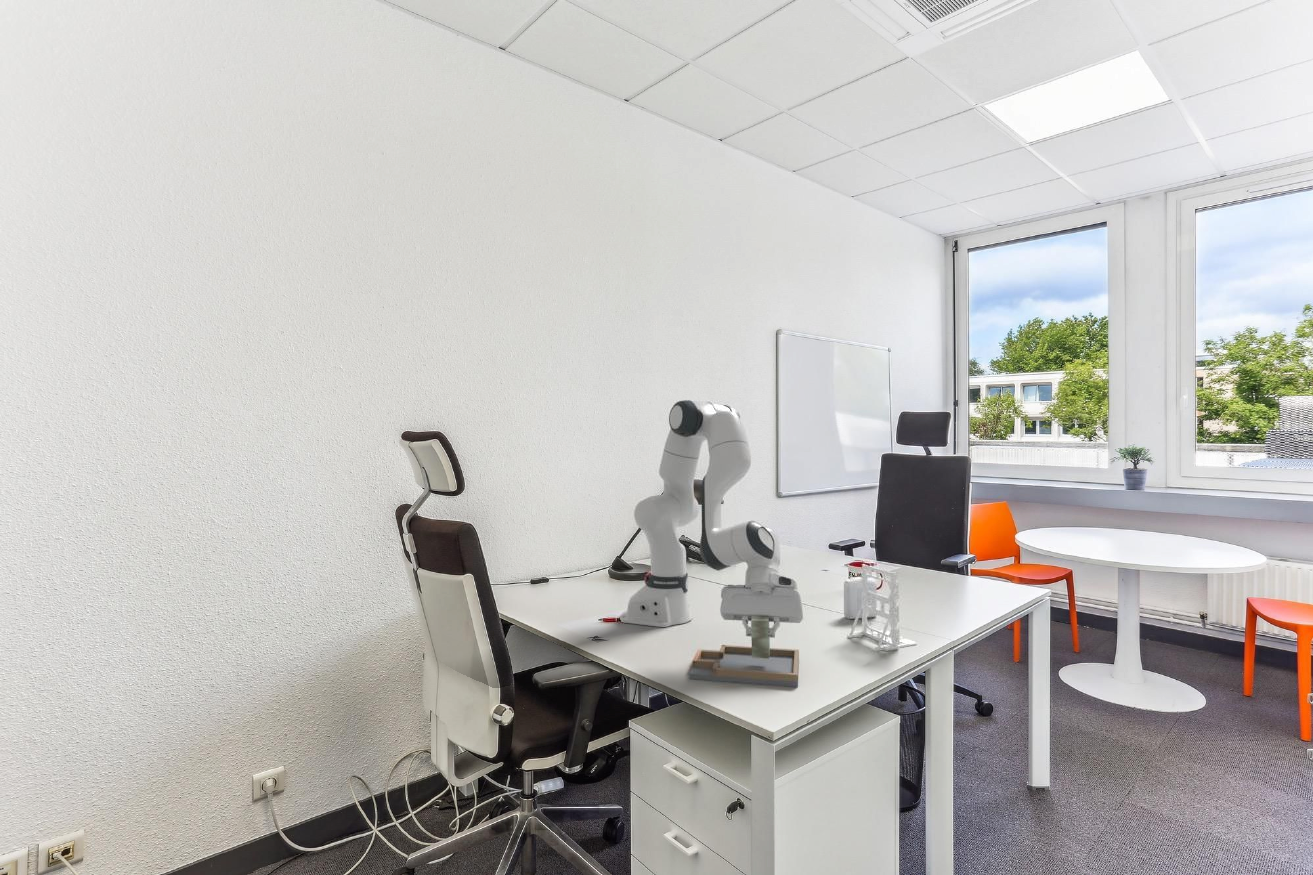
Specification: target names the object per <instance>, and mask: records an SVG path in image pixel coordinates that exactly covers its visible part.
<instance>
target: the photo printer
mask: <svg viewBox="0 0 1313 875" xmlns="http://www.w3.org/2000/svg"><path fill="white" fill-rule="evenodd" d="M866 584H867V587H868V590H869V591H870V592H873V593H876V594H878V593H877V591H878V590H877V588H878V587H877V582H876V580H875V578H872V577H868V579H867V582H866ZM862 593H863V587H862V581H861V576H856V577H852V578H848V579H847V580H845V581H844V582H843V615H844V618H845V619H847V620H852V619H853V620H855V619H856V616H857V613H858V612H859V609H860V606H861V603H862V601H861V598H862ZM877 601H878V600H876V607H878V603H877ZM868 606H871V607H872V598H870V597H868ZM862 614H863V609H861V612H860V615H859V618H858V619H862ZM877 616H878V615H876V614H873V613H871V612H869V614H868V616H867V619H868V618H876V617H877Z"/></svg>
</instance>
